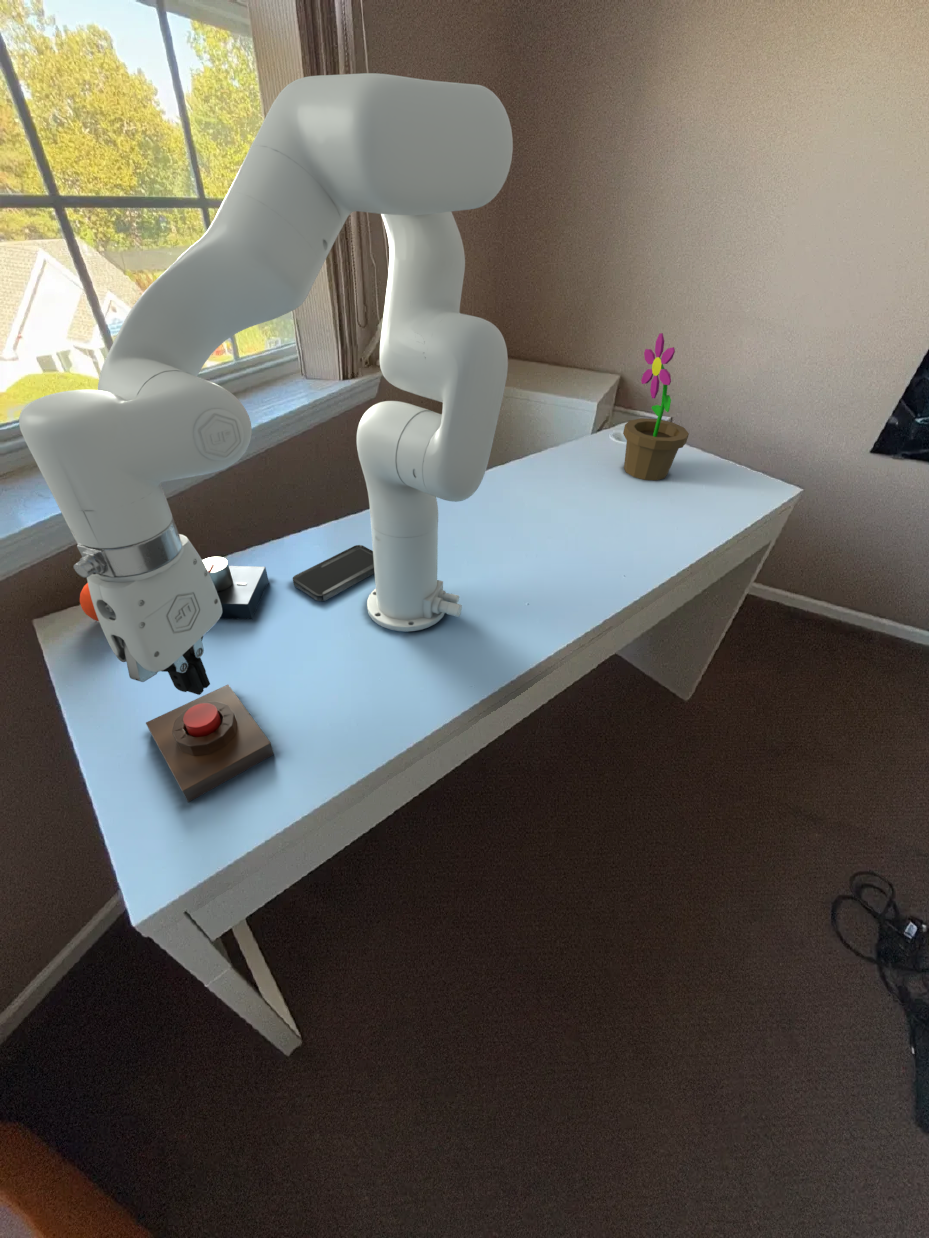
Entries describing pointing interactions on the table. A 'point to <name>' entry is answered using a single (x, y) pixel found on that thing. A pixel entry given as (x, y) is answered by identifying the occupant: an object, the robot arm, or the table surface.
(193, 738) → the button block
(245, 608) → the panel
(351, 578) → the phone
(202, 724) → the button
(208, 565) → the hob knob
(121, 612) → the robot arm
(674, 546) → the table surface
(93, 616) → the clementine
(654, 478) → the flowerpot
